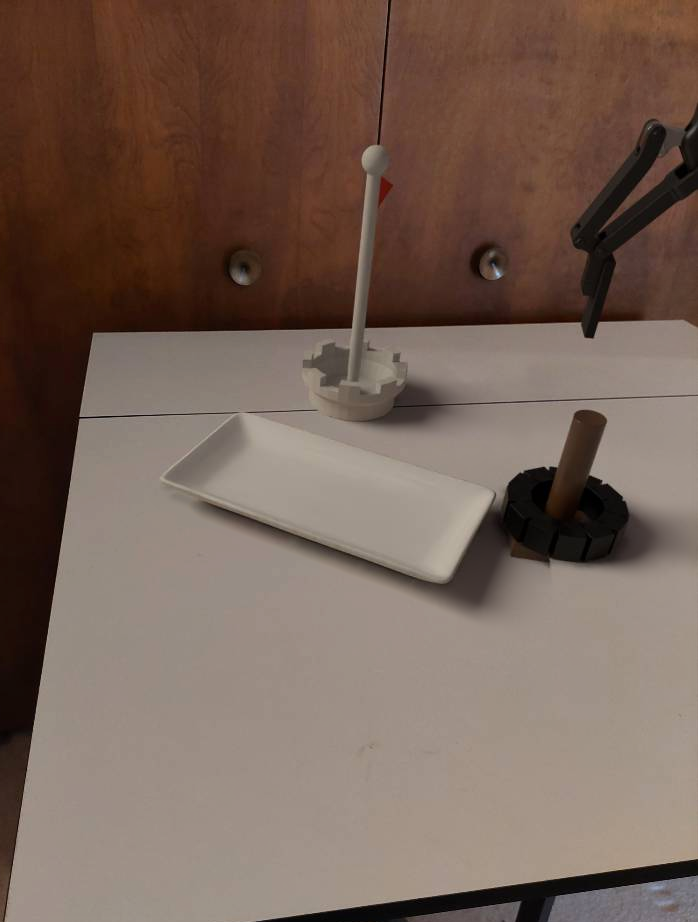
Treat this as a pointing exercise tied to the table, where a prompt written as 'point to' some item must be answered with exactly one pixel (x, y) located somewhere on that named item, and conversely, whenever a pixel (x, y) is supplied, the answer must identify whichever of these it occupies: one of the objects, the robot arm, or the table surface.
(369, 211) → the flag stand
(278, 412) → the table surface
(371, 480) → the tray
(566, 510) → the post
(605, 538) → the ring
